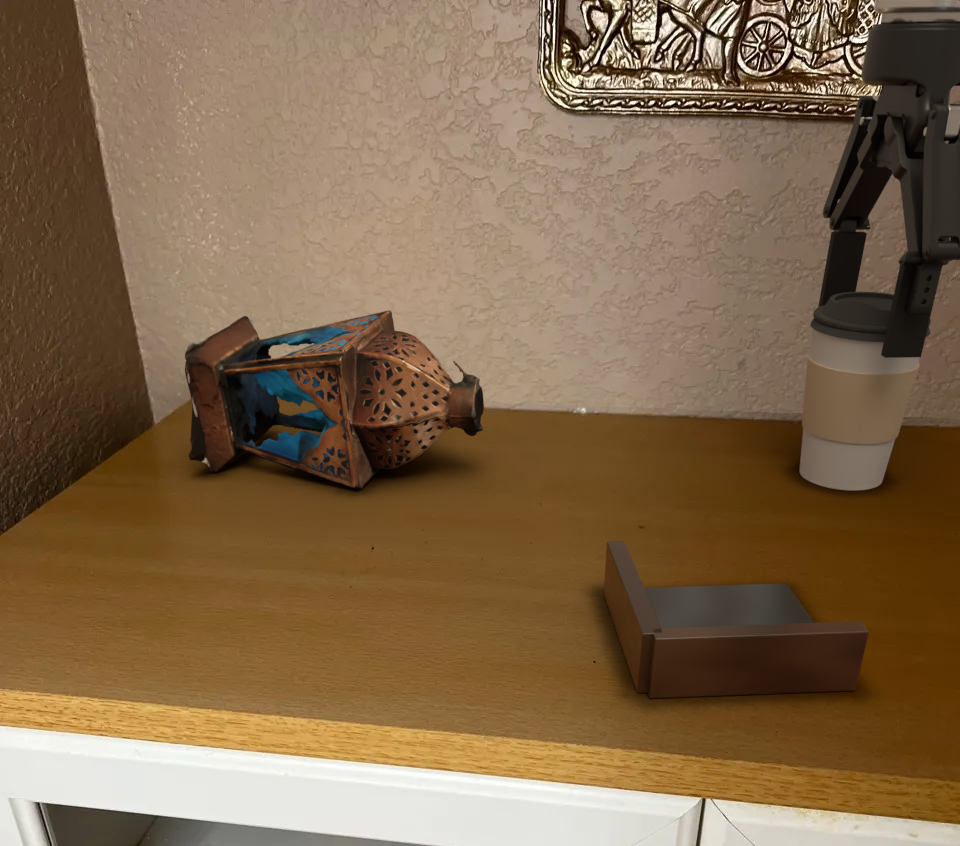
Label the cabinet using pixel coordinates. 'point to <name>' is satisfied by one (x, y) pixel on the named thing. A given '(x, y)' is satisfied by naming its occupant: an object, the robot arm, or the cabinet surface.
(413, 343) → the lantern
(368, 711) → the cabinet surface
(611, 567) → the corner guide
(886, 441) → the coffee cup
